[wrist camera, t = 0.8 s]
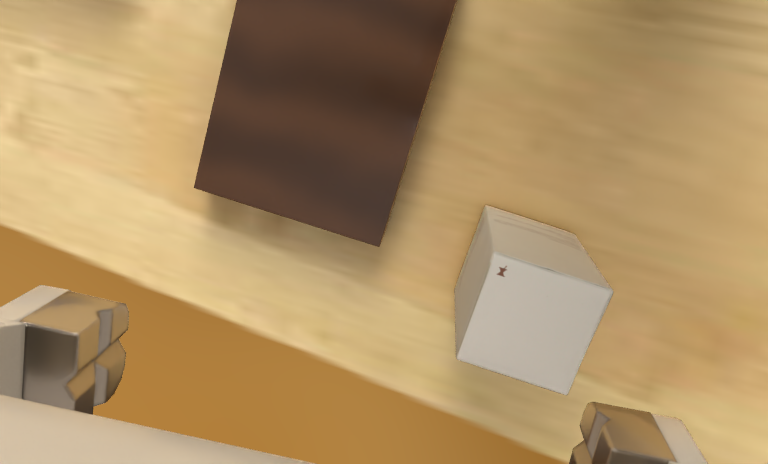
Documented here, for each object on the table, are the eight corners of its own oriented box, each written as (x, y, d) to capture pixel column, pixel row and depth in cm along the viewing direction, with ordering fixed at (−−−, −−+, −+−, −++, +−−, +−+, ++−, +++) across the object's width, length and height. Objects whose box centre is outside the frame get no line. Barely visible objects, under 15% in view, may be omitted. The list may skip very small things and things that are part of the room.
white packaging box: (451, 290, 54) (450, 359, 42) (484, 201, 52) (493, 246, 40) (542, 322, 54) (567, 400, 42) (579, 234, 52) (617, 289, 40)
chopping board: (274, -94, 49) (260, -104, 45) (467, -34, 48) (468, -40, 45) (209, 179, 54) (193, 187, 51) (384, 235, 54) (379, 247, 50)
